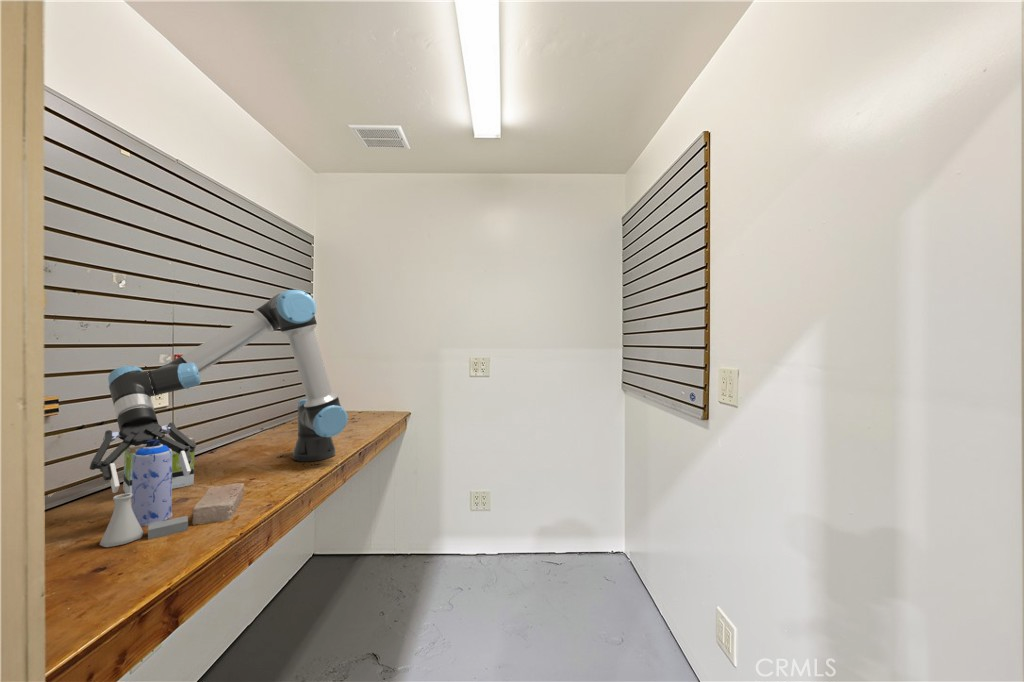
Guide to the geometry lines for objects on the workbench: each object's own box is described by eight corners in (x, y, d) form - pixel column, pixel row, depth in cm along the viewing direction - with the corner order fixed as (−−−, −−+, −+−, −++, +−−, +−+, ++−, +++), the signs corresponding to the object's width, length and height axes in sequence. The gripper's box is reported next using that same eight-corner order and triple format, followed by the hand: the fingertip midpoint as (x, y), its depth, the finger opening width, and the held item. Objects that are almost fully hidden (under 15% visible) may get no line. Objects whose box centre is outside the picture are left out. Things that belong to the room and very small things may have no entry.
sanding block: (187, 525, 97) (187, 515, 97) (187, 531, 94) (188, 521, 94) (148, 534, 92) (148, 524, 92) (147, 541, 89) (147, 530, 89)
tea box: (128, 499, 113) (129, 447, 113) (122, 491, 119) (123, 442, 119) (194, 485, 124) (195, 438, 125) (186, 478, 131) (186, 433, 131)
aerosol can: (177, 517, 101) (178, 438, 101) (136, 529, 94) (137, 445, 95) (165, 510, 105) (166, 435, 105) (125, 521, 99) (126, 441, 99)
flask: (141, 529, 94) (141, 487, 95) (146, 539, 90) (147, 494, 90) (97, 541, 89) (98, 496, 89) (101, 551, 84) (101, 504, 84)
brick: (232, 520, 100) (232, 502, 100) (190, 527, 96) (190, 507, 96) (244, 498, 115) (244, 482, 115) (209, 503, 111) (209, 486, 111)
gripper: (189, 416, 119) (209, 476, 111) (65, 431, 98) (78, 506, 90) (196, 400, 116) (217, 460, 108) (70, 412, 95) (84, 487, 87)
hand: (154, 481), depth 99 cm, fingers open, 13 cm apart
